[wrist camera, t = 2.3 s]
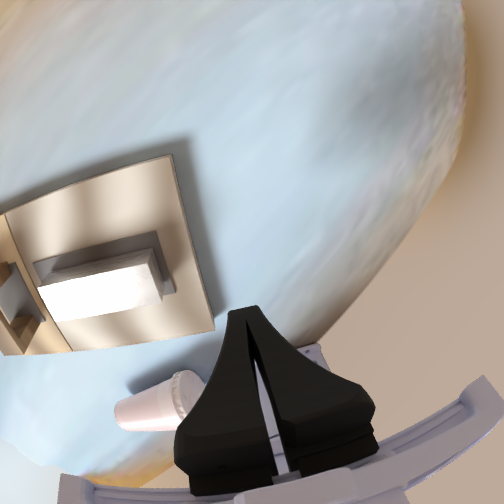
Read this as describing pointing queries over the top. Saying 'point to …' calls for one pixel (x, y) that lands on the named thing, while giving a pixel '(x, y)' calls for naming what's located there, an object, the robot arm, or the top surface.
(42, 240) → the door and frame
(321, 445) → the robot arm
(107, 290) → the brushed metal block
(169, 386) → the smoothie
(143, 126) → the top surface
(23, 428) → the top surface
